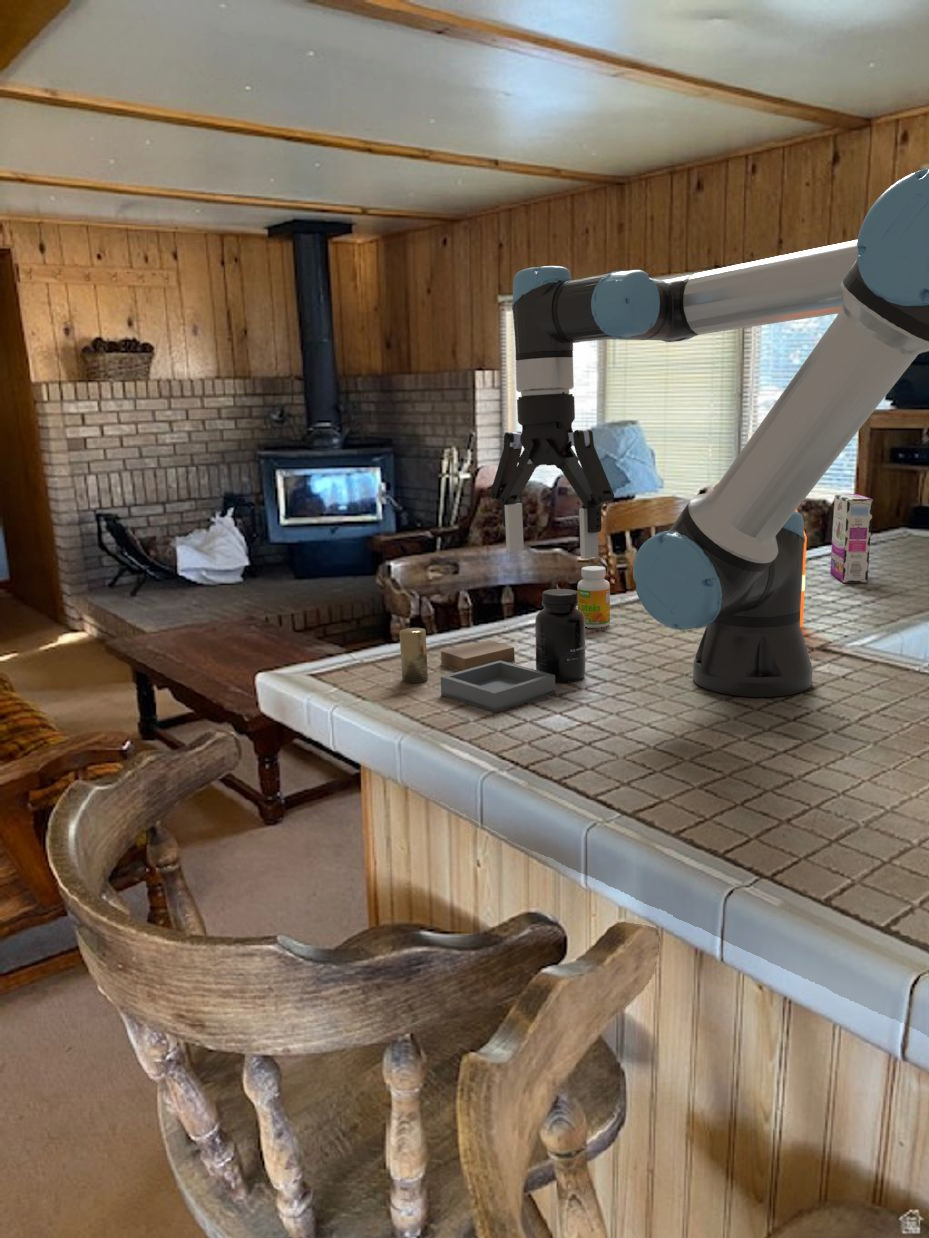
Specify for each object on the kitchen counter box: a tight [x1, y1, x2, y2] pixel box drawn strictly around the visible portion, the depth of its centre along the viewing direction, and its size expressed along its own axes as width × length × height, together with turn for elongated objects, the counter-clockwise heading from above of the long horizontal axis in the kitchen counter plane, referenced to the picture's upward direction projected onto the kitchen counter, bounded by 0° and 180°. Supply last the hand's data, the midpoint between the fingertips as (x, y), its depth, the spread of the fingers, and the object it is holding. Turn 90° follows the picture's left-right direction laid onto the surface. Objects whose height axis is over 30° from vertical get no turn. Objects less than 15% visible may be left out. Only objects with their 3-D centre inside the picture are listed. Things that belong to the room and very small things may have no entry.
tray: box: [440, 660, 556, 713], centre depth 124 cm, size 11×11×2 cm
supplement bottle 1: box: [534, 588, 586, 684], centre depth 130 cm, size 7×7×12 cm
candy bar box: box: [829, 493, 874, 584], centre depth 187 cm, size 11×5×16 cm, turn 172°
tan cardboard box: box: [440, 639, 516, 672], centre depth 139 cm, size 6×9×2 cm, turn 126°
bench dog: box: [399, 627, 429, 684], centre depth 132 cm, size 4×4×7 cm
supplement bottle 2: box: [576, 565, 611, 629], centre depth 159 cm, size 5×5×10 cm
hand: (551, 554), depth 129 cm, fingers open, 13 cm apart
